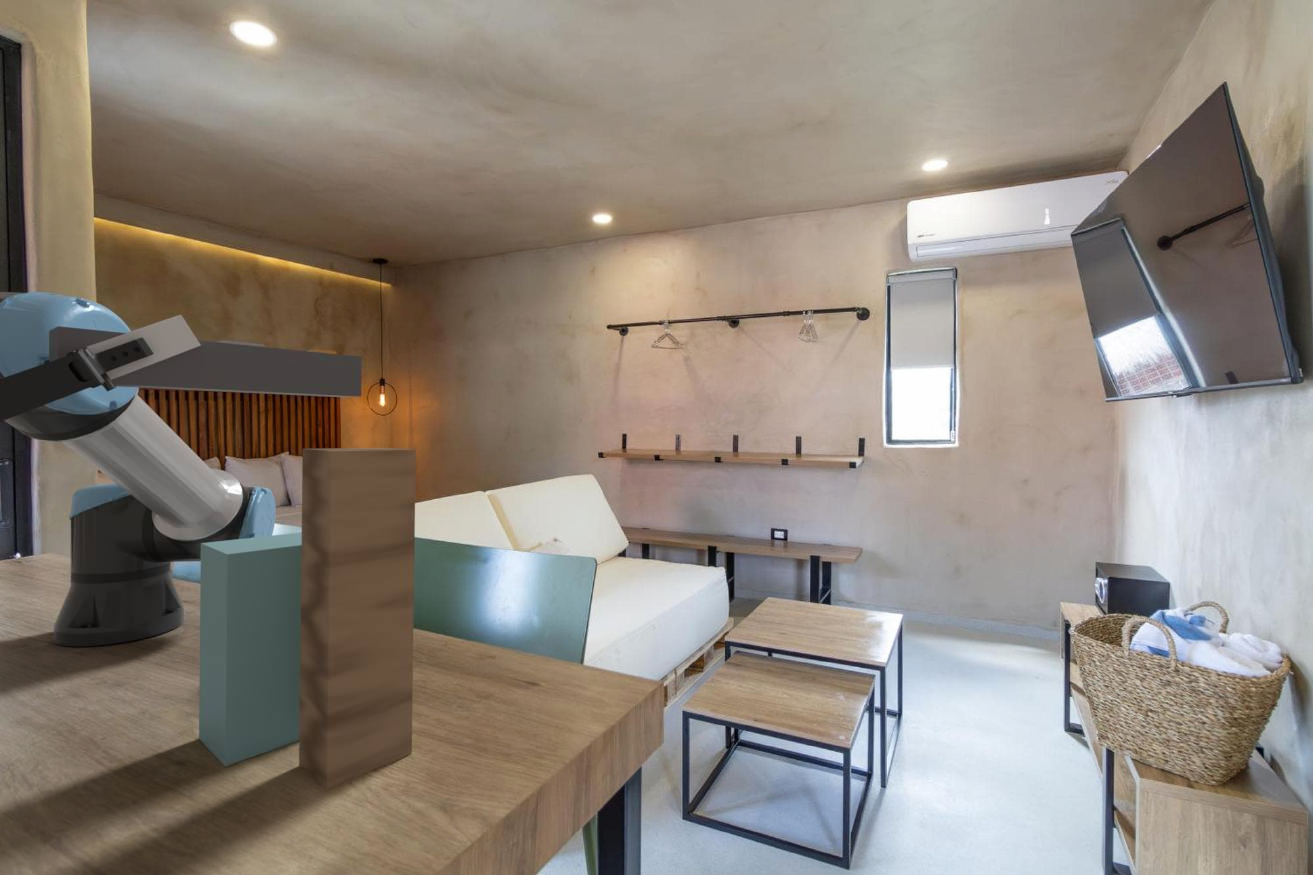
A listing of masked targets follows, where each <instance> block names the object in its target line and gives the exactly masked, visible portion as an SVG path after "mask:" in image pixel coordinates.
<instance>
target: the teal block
mask: <svg viewBox="0 0 1313 875" xmlns="http://www.w3.org/2000/svg"><path fill="white" fill-rule="evenodd" d="M301 546H302V531H300V532H294V533H293V532H292V533H285V534H284V533H281V534H275V535H273V534H272V536H264V537H254V538H245V539H236V540H227V541H218V542H209V543H201V561H200V581H199V582H200V590H199V591H200V595H199V598H200V599H199V600H200V603H199V607H200V609H199V610H200V611H199V683H198V684H199V689H198V690H199V692H198V696H199V697H198V698H199V700H198V706H199V708H198V739H199V740H200V741H201V742H202V743H203V744H204V746H205V747H206V748H207V749H208V750H209V751H210V752H211V753H212V754H213V756H215V757H216V758H217V759H218V760H219V761H220V763H222V764H223V765H224V766H225V767H227V766H230V765H233V764H236V763H238V762H242V761H244V760H246V759H247V760H248V759H250V758H253V757H255V756H258V755H261V754H265V753H267V752H269V751H273V750H276V749H279V748H281V747H284V746H287V745H290V744H293V743H296V742H298V741H299V721H300V634H301Z"/></svg>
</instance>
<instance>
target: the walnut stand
mask: <svg viewBox="0 0 1313 875" xmlns="http://www.w3.org/2000/svg"><path fill="white" fill-rule="evenodd" d="M416 454H417V452H416V449H408V448H394V447H393V448H391V447H363V448H362V447H361V448H360V447H359V448H358V447H356V448H354V447H352V448H349V447H348V448H346V447H345V448H343V447H342V448H340V447H339V448H336V447H335V448H302V463H301V464H302V465H301V466H302V468H301V469H302V470H301V472H302V473H301V474H302V476H301V478H302V480H301V484H302V486H301V487H302V488H301V532H302V546H301V634H300V721H299V740H298V741H299V742H298V766H299V767H300V768H301V769H303V771H305V772H306V773H307V774H308V775H309V776H310V777H311V778H313V779H314V780H315V781H317V783H319V784H320V785H321V786H322V787H323V788H325V790H329V789H332V788H334V787H336V786H338V785H341V784H343V783H345V782H348V781H350V780H352V779H355V778H357V777H360V776H363V775H364V774H367V773H369V772H372V771H374V770H377V769H378V768H381V767H383V766H386V765H388V764H391V763H393V762H395V761H398V760H400V759H402V758H404V757H407V756H409V755H411V754H412V752H413V751H412V748H413V747H412V746H413V741H412V740H413V694H414V693H413V690H414V689H413V687H414V685H413V682H414V681H413V679H414V677H413V676H414V674H413V672H414V616H415V615H414V614H415V613H414V611H415V610H414V606H415V604H414V602H415V599H414V598H415V535H416V534H415V531H416V528H415V527H416V526H415V525H416V470H417V469H416V464H417V463H416V460H417V459H416V457H417V455H416Z"/></svg>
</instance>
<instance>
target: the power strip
mask: <svg viewBox="0 0 1313 875" xmlns="http://www.w3.org/2000/svg"><path fill="white" fill-rule="evenodd" d="M123 334H126V333H120V332H110V331H101V330H91V329H81V328H71V327H61V326H57V327H56V328H54V329H52V330H50V331H49V362H51V361H54V360H56V359H59V358H62V357H65V356H66V355H67V353H70V352H73V351H76V350H79V349H82V350H86V349H85V347H88V346H91V345H94V344H96V343H99V342H102V341H105V340H108V339H111V338H114V337H117V336H120V335H123ZM197 340H198V339H197ZM198 342H199V343H200V345H201V346H198V347H196V348H193V349H190V350H188V351H185V352H183V353H180V354H177V355H175V356H172V357H169V358H167V359H164V360H162V361H159V362H156V363H154V364H151V365H149V366H146V367H143V368H141V369H138V370H136V371H133V372H130V373H128V374H125V375H123V376H120V377H117V378H115V379H112V382H113V383H114V384H115V386H119V387H139V389H140V388H143V389H146V388H147V389H163V390H165V389H166V390H167V389H168V390H184V391H203V392H204V391H205V392H206V391H208V392H225V393H226V392H228V393H245V394H246V393H247V394H248V393H249V394H265V395H266V394H268V395H269V394H272V395H290V396H291V395H292V396H293V395H294V396H312V397H328V398H329V397H330V398H331V397H332V398H333V397H335V398H356V397H357V398H360V397H362V381H363V380H362V376H363V375H362V371H363V370H362V367H363V366H362V365H363V360H362V359H363V357H362V356H357V355H356V356H355V355H346V354H340V353H339V354H337V352H336V351H335V350H324V349H316V348H313V349H308V350H307V349H306V351H305V350H297V349H287V348H277V347H269V346H266V345H265V344H262V343H261V344H260V343H253V342H251V343H250V342H242V341H234V340H226V339H225V340H224V339H223V340H219V341H207V340H200V339H199V340H198ZM100 386H103V385H102V384H100Z"/></svg>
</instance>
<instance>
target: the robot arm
mask: <svg viewBox="0 0 1313 875" xmlns="http://www.w3.org/2000/svg"><path fill="white" fill-rule="evenodd" d="M57 326H61V327H71V328H81V329H91V330H101V331H110V332H120V333H126V334H123V335H120V336H117V337H114V338H111V339H108V340H105V341H102V342H99V343H96V344H94V345H91V346H88V347H85V349H86V350H82V349H79V350H76V351H73V352H70V353H67V355H66V356H65V357H62V358H59V359H56V360H54V361H51V362H49V331H50V330H52V329H54V328H56V327H57ZM198 346H201V345H200V343H199V342H198V338H197V337H196V335H195V334H194V332H193V331H192V329H191V328H190V326H189V324H188V323H187V322H186V320H185V319H184V317H183V315H182V314H178V315H175V316H172V317H170V318H167V319H163V320H161V321H157V322H154V323H152V324H149V325H146V326H143V327H140V328H137V329H134V330H131V329H130V327H129V326H128V324H126V323H125V321H124V320H123V319H122V318H121V317H120V316H118V314H116V313H114V312H113V311H112V310H111V309H110V308H108V307H106V306H104V305H103V304H101V303H98V302H96V301H93V300H90V299H87V298H82V297H78V296H68V295H62V294H57V293H54V292H53V293H52V292H41V291H40V292H39V291H30V292H12V291H11V292H9V291H0V423H1V422H6V423H7V424H9V425H11V426H12V428H15V429H16V430H17V431H19V432H20V433H21V434H23V435H25V436H27V437H29V438H31V439H33V440H36V441H39V442H44V443H62V444H63V445H65V446H67V447H68V448H69V449H70V450H72V451H73V452H74V453H76V455H78V456H79V457H81V458H82V459H84V460H85V461H86V462H88V463H89V465H91V466H93V467H94V468H95V469H96V470H98V471H99V472H101V474H103V475H105V476H106V477H107V478H109V479H110V480H111V481H113V482H114V483H105V484H96V485H89V486H83V487H81V488H79V489H78V490H76V491H75V492H74V493H73V495H72V498H71V500H72V501H71V508H70V514H69V516H68V518H69V521H70V586H69V590H68V592H67V594H66V596H65V599H64V601H63V604H62V606H61V608H60V611H59V613H58V616H57V618H56V619H55V623H54V624H53V625H54V626H53V642H54V644H57V645H60V646H67V647H92V646H93V647H95V646H104V645H105V646H106V645H114V644H121V643H127V642H132V641H137V640H142V639H146V638H151V637H154V636H157V635H160V634H161V635H162V634H164V633H166V632H170V631H173V630H174V629H176V628H178V627H179V626H182V624H183V623H184V622H185V607H184V605H183V602H182V600H181V598H180V595H179V593H178V591H177V588H176V585H175V583H174V580H173V578H172V575H171V574H172V573H171V563H176V562H177V563H178V562H179V563H180V562H183V563H185V562H189V563H191V562H201V543H209V542H218V541H227V540H236V539H245V538H254V537H264V536H273V534H274V530H275V524H276V523H275V522H276V516H277V515H276V514H277V513H276V511H277V510H276V509H277V508H276V507H277V506H276V500H275V497H274V496H275V495H274V494H273V492H272V490H271V489H270V488H268V487H264V486H263V487H262V486H259V485H254V486H246V485H245V486H244V485H243V484H242V483H241V482H240V481H239V480H238V479H237V478H236V477H235V476H234V475H232V474H231V473H229V472H227V471H225V470H223V469H218V468H211V467H210V466H208V464H206V463H205V462H204V460H202V459H201V458H200V456H198V454H197V453H196V452H194V451H193V449H192V448H190V447H189V445H188V444H187V443H186V442H185V441H183V439H182V438H181V437H180V436H179V435H178V434H177V433H176V432H175V431H174V430H173V429H172V428H171V427H170V426H169V425H168V424H167V423H166V422H165V421H164V420H163V419H162V418H161V417H160V416H159V415H158V414H157V413H156V412H155V411H154V410H153V409H152V408H151V407H150V406H149V405H148V403H146V402H145V400H143V399H142V398H141V397H140V396H139V390H140V387H119V386H115V384H114V383H113V382H112V379H115V378H117V377H120V376H123V375H125V374H128V373H130V372H133V371H136V370H138V369H141V368H143V367H146V366H149V365H151V364H154V363H156V362H159V361H162V360H164V359H167V358H169V357H172V356H175V355H177V354H180V353H183V352H185V351H188V350H190V349H193V348H196V347H198ZM100 384H102V385H103V386H100Z"/></svg>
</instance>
